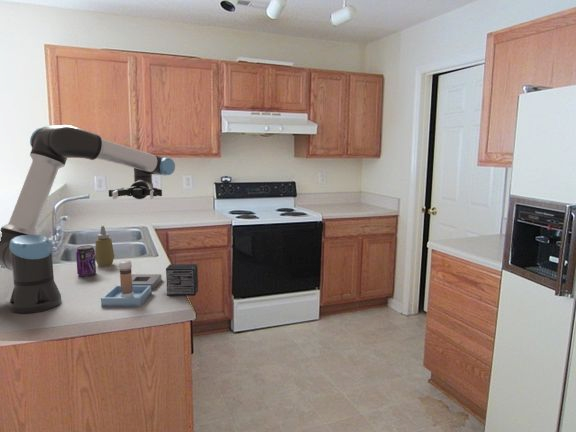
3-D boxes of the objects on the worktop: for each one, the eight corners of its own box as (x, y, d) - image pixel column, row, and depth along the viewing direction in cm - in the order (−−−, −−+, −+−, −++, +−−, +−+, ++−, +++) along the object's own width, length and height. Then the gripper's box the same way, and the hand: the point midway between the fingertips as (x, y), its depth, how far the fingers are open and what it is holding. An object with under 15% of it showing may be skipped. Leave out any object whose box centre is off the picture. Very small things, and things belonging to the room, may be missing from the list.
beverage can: (87, 278, 173) (85, 249, 171) (73, 276, 175) (71, 248, 173) (100, 273, 180) (98, 245, 178) (86, 271, 182) (84, 244, 180)
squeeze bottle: (91, 266, 189) (88, 227, 186) (104, 262, 197) (102, 224, 193) (106, 268, 186) (103, 228, 183) (118, 263, 194) (116, 225, 191)
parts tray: (101, 306, 143) (100, 298, 143) (115, 293, 156) (115, 285, 155) (140, 306, 143) (139, 298, 143) (151, 293, 156) (151, 285, 156)
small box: (198, 290, 160) (198, 263, 159) (195, 296, 154) (195, 268, 152) (170, 290, 160) (169, 263, 158) (166, 296, 154) (165, 268, 152)
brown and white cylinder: (119, 299, 147) (116, 263, 145) (123, 295, 152) (120, 260, 149) (131, 299, 148) (129, 263, 145) (135, 295, 152) (132, 260, 149)
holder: (120, 290, 159) (120, 284, 159) (131, 280, 171) (131, 274, 171) (152, 290, 160) (152, 284, 159) (161, 280, 171) (161, 274, 171)
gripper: (170, 197, 185) (166, 204, 164) (110, 198, 180) (98, 205, 159) (170, 180, 184) (166, 185, 163) (109, 181, 179) (96, 185, 158)
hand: (132, 195), depth 161 cm, fingers open, 13 cm apart
